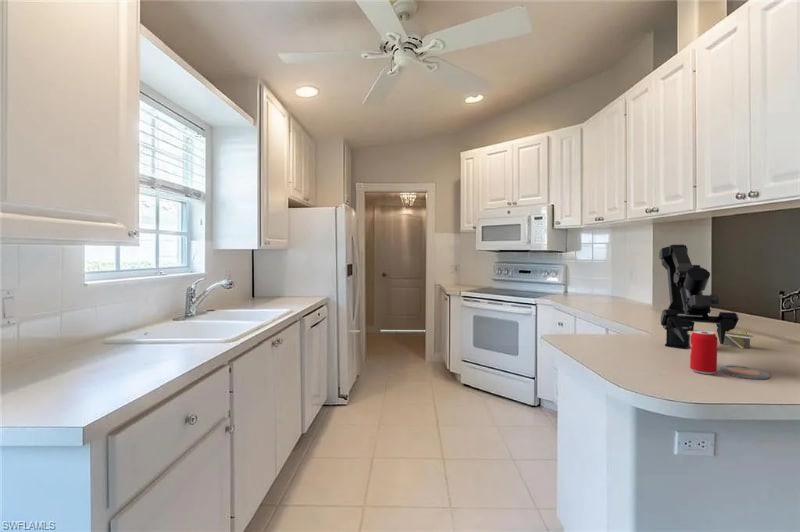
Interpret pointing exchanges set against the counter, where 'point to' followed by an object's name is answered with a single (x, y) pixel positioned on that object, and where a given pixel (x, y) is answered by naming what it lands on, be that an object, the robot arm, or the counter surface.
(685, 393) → the counter surface
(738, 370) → the slate coaster
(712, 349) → the beverage can
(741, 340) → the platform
